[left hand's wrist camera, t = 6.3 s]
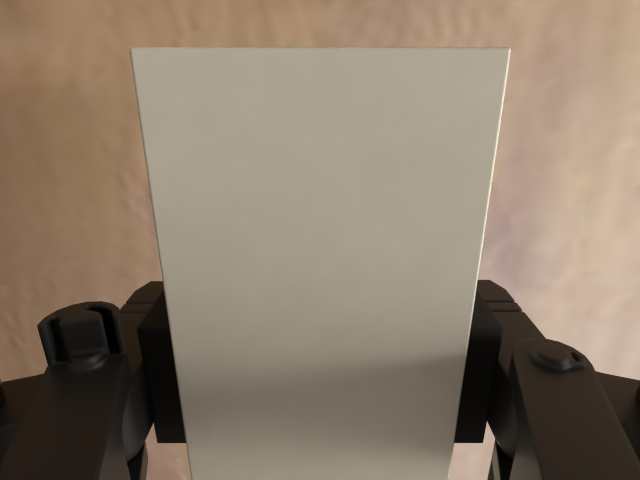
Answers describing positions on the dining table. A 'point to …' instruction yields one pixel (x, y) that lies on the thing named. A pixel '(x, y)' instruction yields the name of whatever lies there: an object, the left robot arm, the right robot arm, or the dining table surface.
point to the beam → (320, 249)
